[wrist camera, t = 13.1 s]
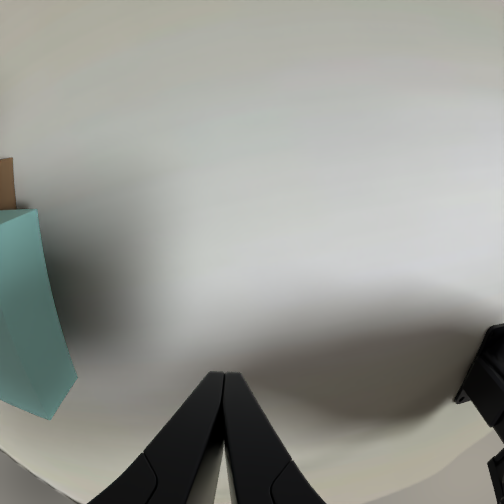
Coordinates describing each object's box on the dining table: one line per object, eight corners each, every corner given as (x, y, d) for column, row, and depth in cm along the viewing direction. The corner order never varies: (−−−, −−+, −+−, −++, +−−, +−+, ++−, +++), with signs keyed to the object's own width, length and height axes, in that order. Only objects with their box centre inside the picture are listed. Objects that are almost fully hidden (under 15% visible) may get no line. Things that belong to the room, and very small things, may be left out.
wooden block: (12, 157, 10) (-9, 161, 9) (59, 375, 14) (49, 391, 13) (-8, 161, 10) (-28, 166, 9) (40, 370, 14) (29, 386, 13)
